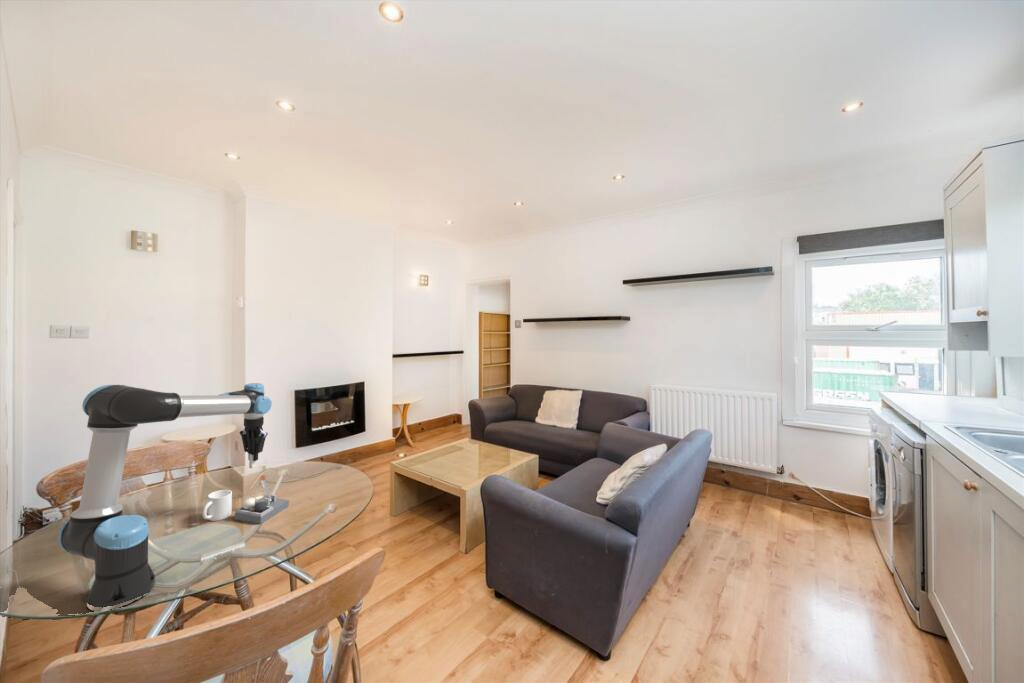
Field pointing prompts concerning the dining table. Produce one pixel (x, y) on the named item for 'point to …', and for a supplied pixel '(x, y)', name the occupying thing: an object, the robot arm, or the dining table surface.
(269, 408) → the robot arm
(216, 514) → the mug
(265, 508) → the button black
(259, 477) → the lever
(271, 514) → the panel
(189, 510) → the dining table surface
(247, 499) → the button ivory
